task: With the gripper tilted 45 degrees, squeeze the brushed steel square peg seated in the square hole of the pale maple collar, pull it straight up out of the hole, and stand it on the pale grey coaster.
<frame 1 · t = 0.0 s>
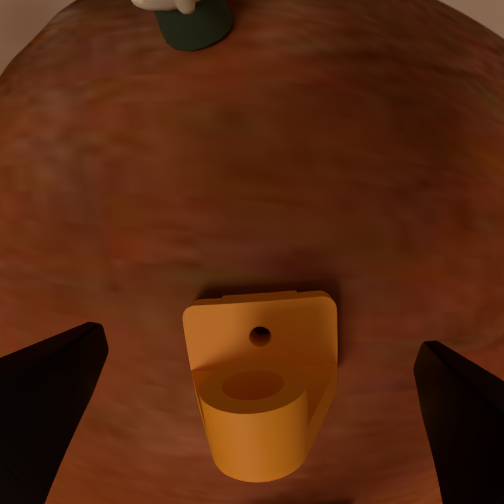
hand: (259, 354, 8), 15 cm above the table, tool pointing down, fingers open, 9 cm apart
bracket: (263, 336, 24), on the table
character mug: (199, 28, 22), on the table
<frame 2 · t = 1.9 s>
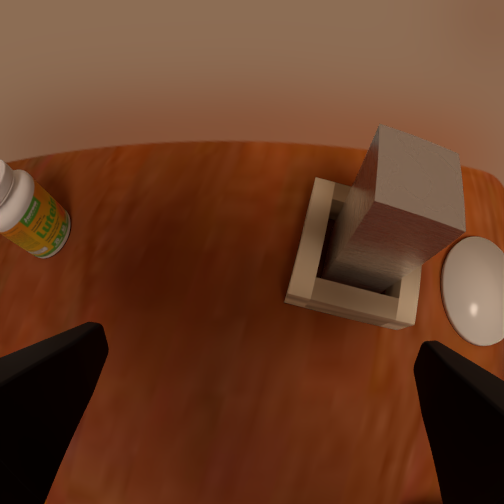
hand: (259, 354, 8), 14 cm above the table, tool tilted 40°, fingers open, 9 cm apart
steel peg: (354, 261, 23), resting in collar
collar: (354, 261, 23), on the table
coaster: (481, 290, 22), on the table
supplement bottle: (51, 233, 25), on the table
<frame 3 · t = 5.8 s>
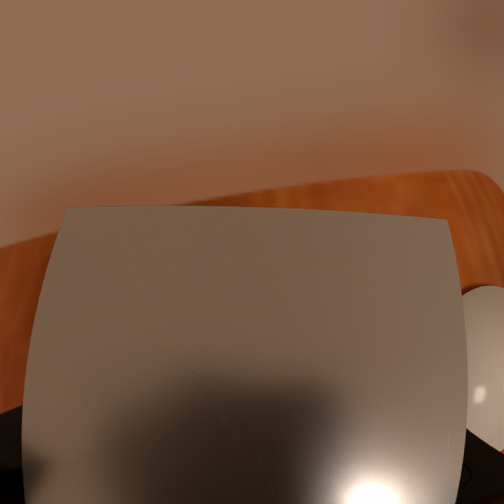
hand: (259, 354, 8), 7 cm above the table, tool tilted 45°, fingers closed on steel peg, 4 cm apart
steel peg: (261, 398, 13), resting in collar, touching gripper
coaster: (491, 371, 12), on the table
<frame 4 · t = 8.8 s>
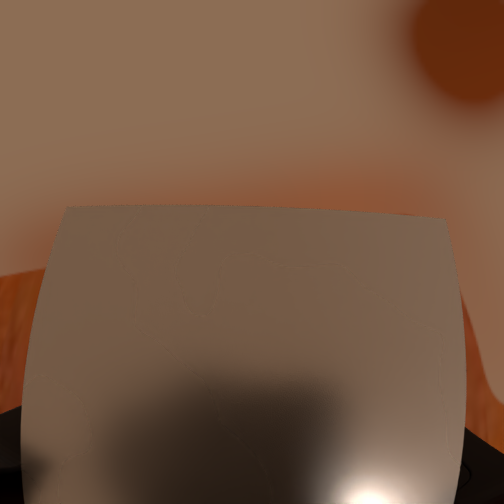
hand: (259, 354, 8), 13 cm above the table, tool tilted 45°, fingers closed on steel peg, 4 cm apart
steel peg: (260, 398, 13), point 7 cm above the table, touching gripper
when the fingers open (8 cm above the table, at t = 11.7 s): steel peg drops 1 cm, resting on coaster.
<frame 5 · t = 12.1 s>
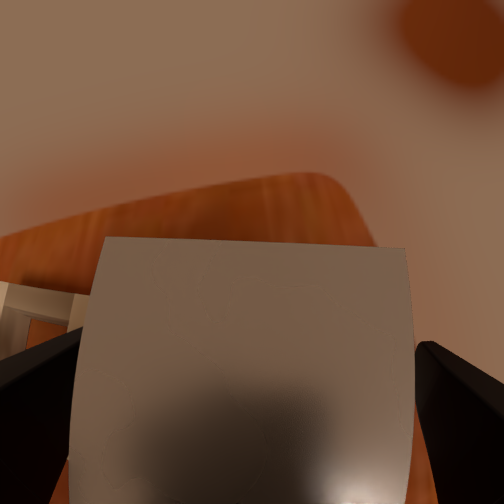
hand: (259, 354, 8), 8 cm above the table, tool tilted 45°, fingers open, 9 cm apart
steel peg: (261, 398, 14), point 1 cm above the table, touching coaster
collar: (53, 369, 15), on the table
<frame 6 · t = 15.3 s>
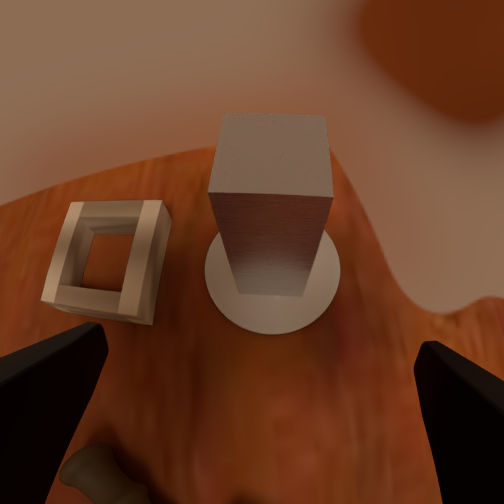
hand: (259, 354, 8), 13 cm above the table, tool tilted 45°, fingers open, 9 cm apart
steel peg: (272, 265, 23), point 1 cm above the table, touching coaster
collar: (113, 266, 24), on the table
coaster: (272, 268, 23), on the table
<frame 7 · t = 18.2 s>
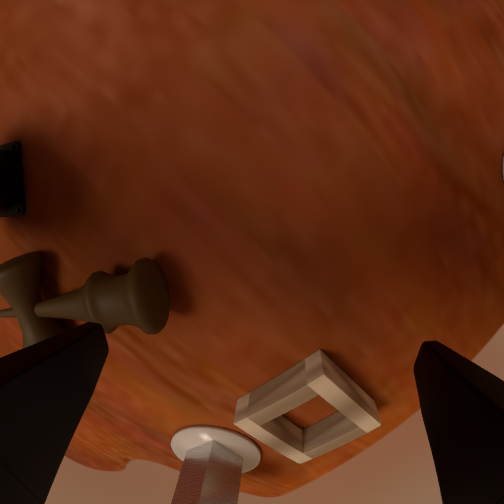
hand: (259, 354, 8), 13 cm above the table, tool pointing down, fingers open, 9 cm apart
steel peg: (214, 454, 28), point 1 cm above the table, touching coaster
collar: (308, 403, 25), on the table
coaster: (215, 450, 29), on the table
kendama: (74, 292, 24), on the table
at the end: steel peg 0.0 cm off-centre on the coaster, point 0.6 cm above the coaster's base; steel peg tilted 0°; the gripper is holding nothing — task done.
